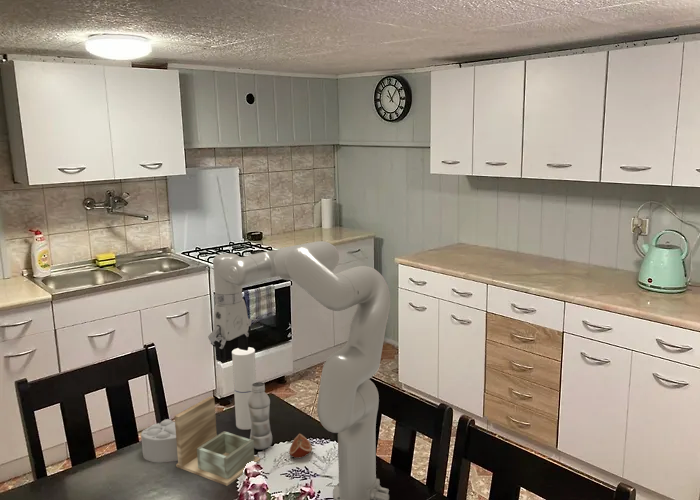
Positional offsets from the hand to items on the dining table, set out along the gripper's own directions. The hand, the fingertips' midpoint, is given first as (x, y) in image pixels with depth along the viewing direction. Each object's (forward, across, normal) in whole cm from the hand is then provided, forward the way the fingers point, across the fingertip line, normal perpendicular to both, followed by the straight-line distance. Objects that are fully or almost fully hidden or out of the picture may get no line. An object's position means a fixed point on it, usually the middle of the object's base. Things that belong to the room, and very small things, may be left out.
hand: (232, 355), depth 165 cm
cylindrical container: (+30, +14, +8) cm, 34 cm away
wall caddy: (+30, -9, 0) cm, 31 cm away
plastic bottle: (+30, +4, -5) cm, 31 cm away
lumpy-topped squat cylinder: (+30, -11, +18) cm, 37 cm away
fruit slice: (+30, +6, -18) cm, 36 cm away
